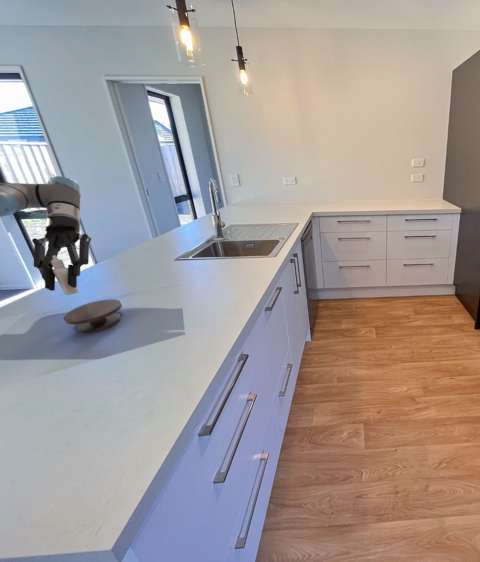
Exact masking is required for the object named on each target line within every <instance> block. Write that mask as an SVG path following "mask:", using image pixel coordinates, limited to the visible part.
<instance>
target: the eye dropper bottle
mask: <svg viewBox="0 0 480 562" xmlns="http://www.w3.org/2000/svg"><path fill="white" fill-rule="evenodd" d="M52 257H53V260H52V261H51V263H52V265H53V268H52V269H53V273H54V275H55V280H56V281H57V283H58V285H59V286H60V288H61V291H62V292H63V294H64V295H67V296H70V295H74V294H77V293H79V292H80V289H79V287H78V286H77V287H75V288H73V287H71V286H70V285H68V266H66V265H65V263H64V260H63V259H62V258H59V257H58V256H57V257H56V255H54V256H52Z"/></svg>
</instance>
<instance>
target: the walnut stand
mask: <svg viewBox="0 0 480 562" xmlns="http://www.w3.org/2000/svg"><path fill="white" fill-rule="evenodd" d="M122 308H123V304H122V302H121V301H120V300H119V299H112V298H110V299H102V300H96V301H92V302H89V303H86V304H83V305H80V306H78V307H75V308H73V309H71V310H70V311H68V312H67V313H66V314H65V315H64V316H63V320H64V322H65V323H66V324H68V325H76V329H77V331H78V333H80V334H92V333H97V332H98V333H99V332H102V331H104V330H107V329H109V328H112V327H113V326H115V325H116V324H118V323H119V322H120V321H121V320H122V317H121V315H120V313H118V312H119V311H120V310H121V309H122Z"/></svg>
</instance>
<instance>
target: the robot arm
mask: <svg viewBox="0 0 480 562" xmlns="http://www.w3.org/2000/svg"><path fill="white" fill-rule="evenodd" d="M81 195H82V194H81V188H80V184H79V183H78V182H77V181H76V180H74V179H71V178H70V177H66V176H62V175H61V176H59V175H57V176H56V175H55V176H53V177H52V176H51V177H50V178H48V181H47V182H46V183H21V182H20V183H19V182H0V218H1V217H8V216H12V215H14V214H15V213H18V212H21V211H25V210H26V209H46V217H45V234H44V236H43V237H41V238H32V239H31V241H32V243H33V245H34V246H33V247H34V248H33V267H34V268H36V269H38V270H40V271H41V278H42V279H43V280H45V281H44V288H45V289H46V290H49V291H51V292H53V291H55V290H56V277H55V275H54V273H53V269H54V267H53V265H52V263H51V261H52V260H53V257H52V256H54V255H56V257H57V258H58V256H59V255H58V254H59V252H61V250H62V249H63V248H66V251H67V253H68V256H69V259H70V264H67V265H68V266H67V267H68V285H70V286H71V287H73V288H75V287H78V285H77V284H78V277H80V276H81V267H83V265H86V266H87V265H89V261H90V260H89V259H90V256H89V254H90V243H91V240H92V237H90V236H89V235H88V234H87V233H83V234H81V233H80V231H81V230H80V229H81V197H82V196H81ZM78 241H79V247H78V250H77V245H76V243H77V242H78ZM47 242H48V244H46V243H47ZM46 246H47V250H46Z"/></svg>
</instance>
